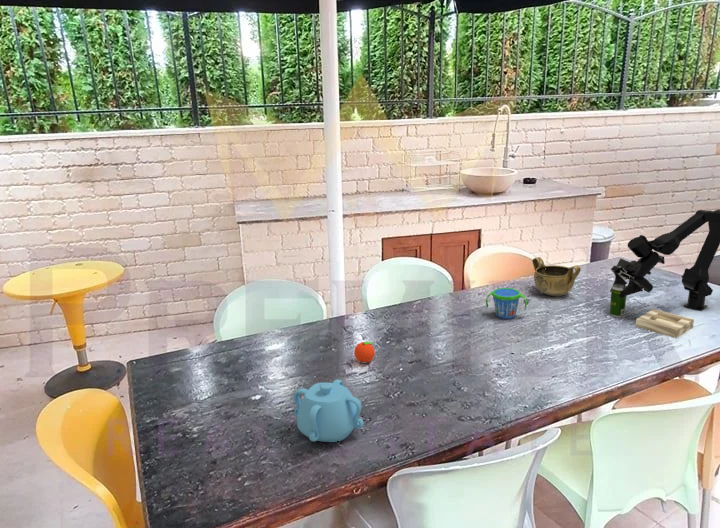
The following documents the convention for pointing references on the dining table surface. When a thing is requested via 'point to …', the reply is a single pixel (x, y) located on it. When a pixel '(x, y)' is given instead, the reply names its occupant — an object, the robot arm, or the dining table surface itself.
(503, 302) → the snack cup
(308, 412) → the decorative pot
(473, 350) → the dining table surface
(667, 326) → the birch tray
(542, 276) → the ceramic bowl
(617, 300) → the beer can
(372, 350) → the clementine
